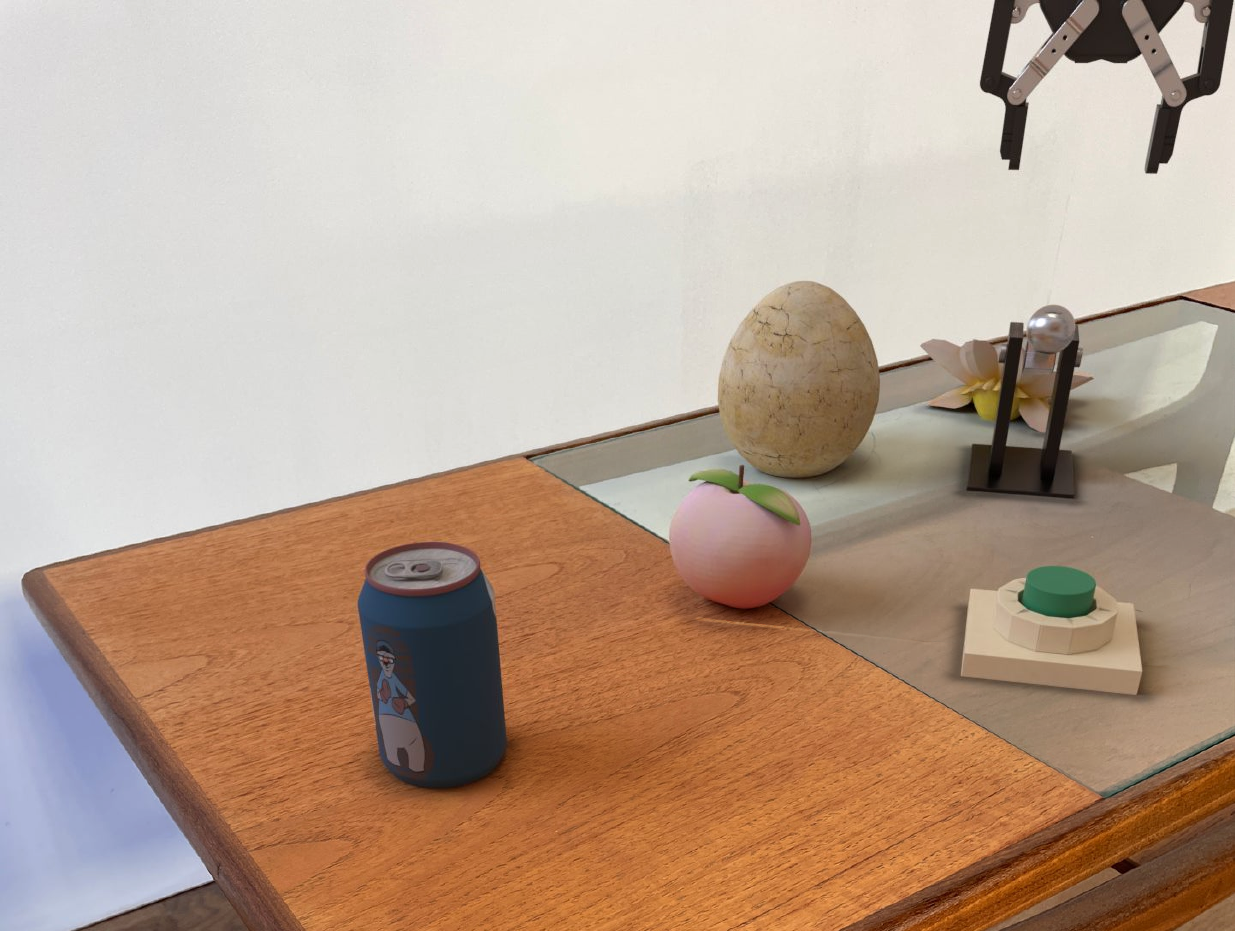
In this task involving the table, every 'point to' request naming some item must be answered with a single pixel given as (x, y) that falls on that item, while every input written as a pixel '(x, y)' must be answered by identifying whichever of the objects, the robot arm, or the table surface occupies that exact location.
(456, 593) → the soda can
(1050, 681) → the button block
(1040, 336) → the tap lever
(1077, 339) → the black metal frame
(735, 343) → the fossilized egg
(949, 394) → the decorative flower
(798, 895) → the table surface
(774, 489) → the decorative fruit
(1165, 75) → the robot arm
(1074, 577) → the green push button
